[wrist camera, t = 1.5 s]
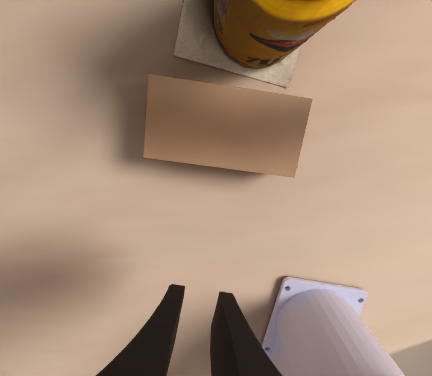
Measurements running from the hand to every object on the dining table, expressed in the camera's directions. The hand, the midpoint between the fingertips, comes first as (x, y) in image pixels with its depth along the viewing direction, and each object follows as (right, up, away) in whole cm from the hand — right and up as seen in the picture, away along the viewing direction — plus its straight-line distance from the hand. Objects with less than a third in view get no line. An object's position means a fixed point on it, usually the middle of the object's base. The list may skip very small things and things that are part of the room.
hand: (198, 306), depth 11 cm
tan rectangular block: (+1, +10, +7) cm, 13 cm away
